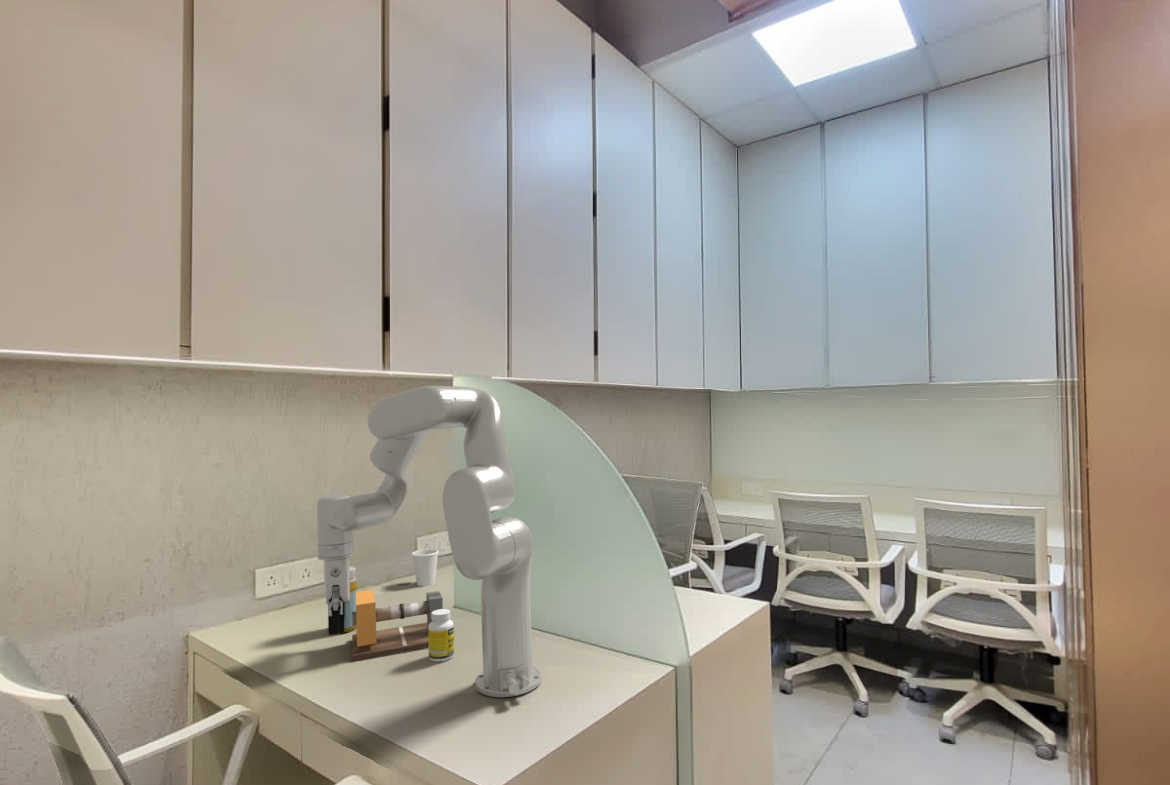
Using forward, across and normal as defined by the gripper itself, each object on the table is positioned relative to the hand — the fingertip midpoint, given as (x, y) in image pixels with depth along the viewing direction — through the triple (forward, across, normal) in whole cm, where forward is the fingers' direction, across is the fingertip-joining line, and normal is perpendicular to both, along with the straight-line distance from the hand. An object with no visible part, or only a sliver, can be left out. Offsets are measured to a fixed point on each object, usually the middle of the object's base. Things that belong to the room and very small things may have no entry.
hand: (336, 626), depth 132 cm
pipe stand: (+6, 0, -13) cm, 14 cm away
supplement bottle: (+6, -14, -21) cm, 26 cm away
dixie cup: (+6, +49, -25) cm, 55 cm away
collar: (+3, 0, -6) cm, 7 cm away
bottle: (+6, +16, -1) cm, 17 cm away
